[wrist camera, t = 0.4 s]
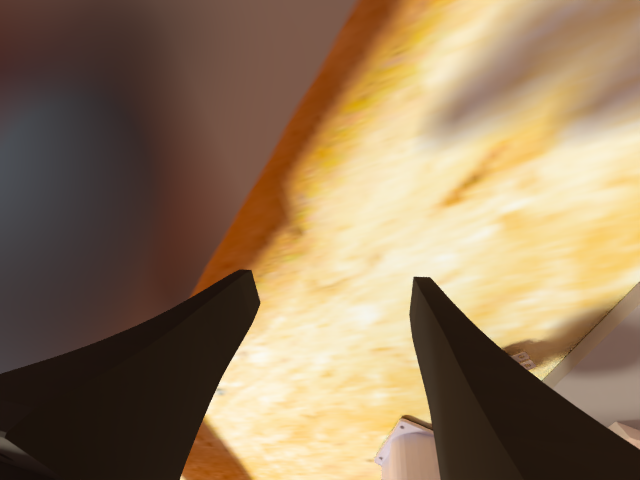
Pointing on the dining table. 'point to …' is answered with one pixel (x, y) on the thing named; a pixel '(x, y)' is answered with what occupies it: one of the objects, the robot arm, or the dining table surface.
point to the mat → (605, 367)
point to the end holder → (626, 433)
